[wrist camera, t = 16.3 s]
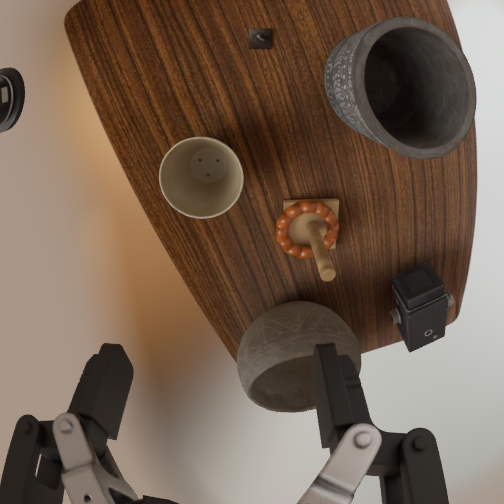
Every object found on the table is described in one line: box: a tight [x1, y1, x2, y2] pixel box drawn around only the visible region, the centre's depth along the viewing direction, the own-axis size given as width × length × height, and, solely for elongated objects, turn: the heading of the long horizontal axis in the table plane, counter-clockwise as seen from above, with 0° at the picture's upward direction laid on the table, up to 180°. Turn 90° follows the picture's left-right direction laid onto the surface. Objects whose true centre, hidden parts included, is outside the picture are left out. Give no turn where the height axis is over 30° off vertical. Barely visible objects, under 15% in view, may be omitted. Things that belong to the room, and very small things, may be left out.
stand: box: [284, 199, 339, 281], centre depth 38 cm, size 8×8×13 cm
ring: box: [276, 200, 339, 259], centre depth 42 cm, size 9×9×2 cm
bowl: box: [237, 301, 361, 412], centre depth 48 cm, size 21×21×15 cm
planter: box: [324, 17, 476, 160], centre depth 25 cm, size 14×14×15 cm
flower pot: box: [159, 137, 244, 219], centre depth 35 cm, size 10×10×7 cm
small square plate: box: [249, 29, 272, 49], centre depth 29 cm, size 3×3×1 cm
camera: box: [390, 263, 454, 352], centre depth 45 cm, size 11×11×15 cm
